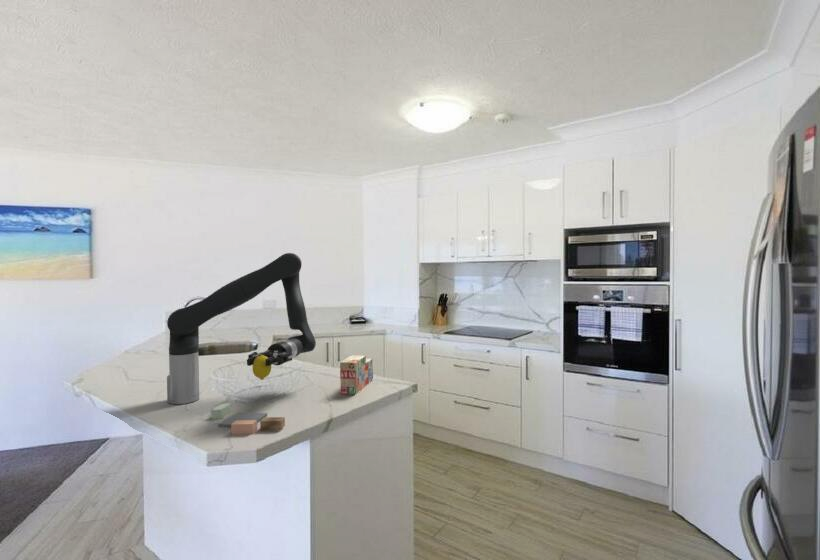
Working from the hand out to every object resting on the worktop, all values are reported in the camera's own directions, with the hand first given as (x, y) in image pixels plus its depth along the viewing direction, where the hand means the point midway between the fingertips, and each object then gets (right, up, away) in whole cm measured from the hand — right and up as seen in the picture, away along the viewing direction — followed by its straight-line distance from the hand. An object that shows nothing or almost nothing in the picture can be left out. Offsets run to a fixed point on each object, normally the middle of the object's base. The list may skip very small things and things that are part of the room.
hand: (257, 362), depth 121 cm
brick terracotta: (0, -18, -10) cm, 20 cm away
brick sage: (-13, -18, +4) cm, 23 cm away
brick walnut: (+7, -18, -8) cm, 21 cm away
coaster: (-4, -18, -1) cm, 18 cm away
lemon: (0, -6, +3) cm, 7 cm away
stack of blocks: (+26, -17, +35) cm, 47 cm away
